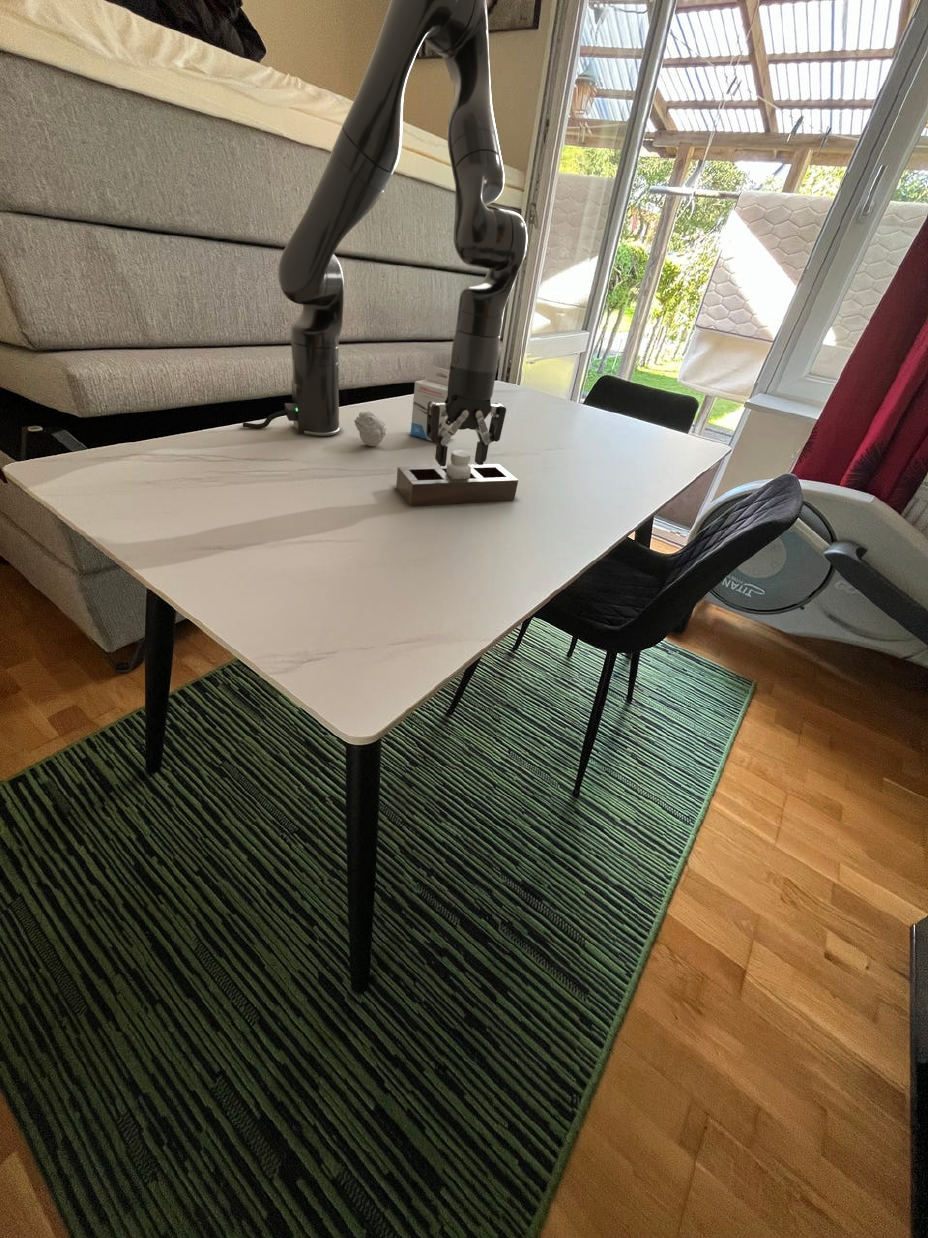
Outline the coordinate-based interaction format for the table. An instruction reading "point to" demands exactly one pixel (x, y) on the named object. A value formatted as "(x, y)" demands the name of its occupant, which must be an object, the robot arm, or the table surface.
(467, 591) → the table surface
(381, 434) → the white lumpy lump
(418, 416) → the ink box
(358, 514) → the table surface
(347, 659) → the table surface
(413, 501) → the holder
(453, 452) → the pill bottle
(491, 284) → the robot arm
